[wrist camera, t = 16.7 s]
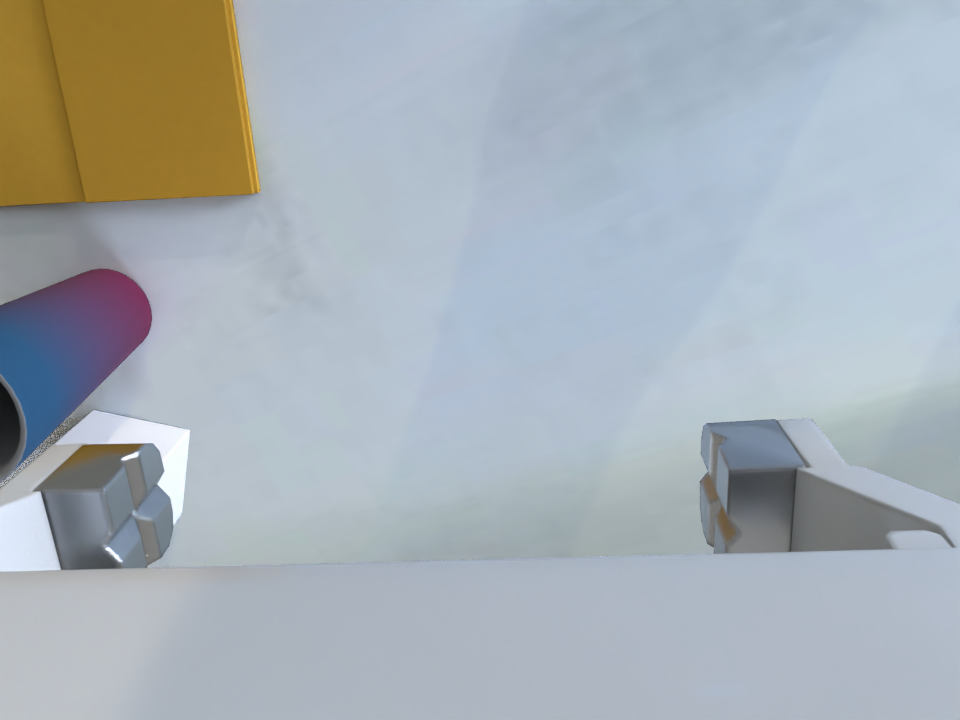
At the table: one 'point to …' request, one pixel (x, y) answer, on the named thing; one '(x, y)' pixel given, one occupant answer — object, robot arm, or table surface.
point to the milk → (131, 430)
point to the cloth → (122, 102)
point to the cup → (62, 353)
